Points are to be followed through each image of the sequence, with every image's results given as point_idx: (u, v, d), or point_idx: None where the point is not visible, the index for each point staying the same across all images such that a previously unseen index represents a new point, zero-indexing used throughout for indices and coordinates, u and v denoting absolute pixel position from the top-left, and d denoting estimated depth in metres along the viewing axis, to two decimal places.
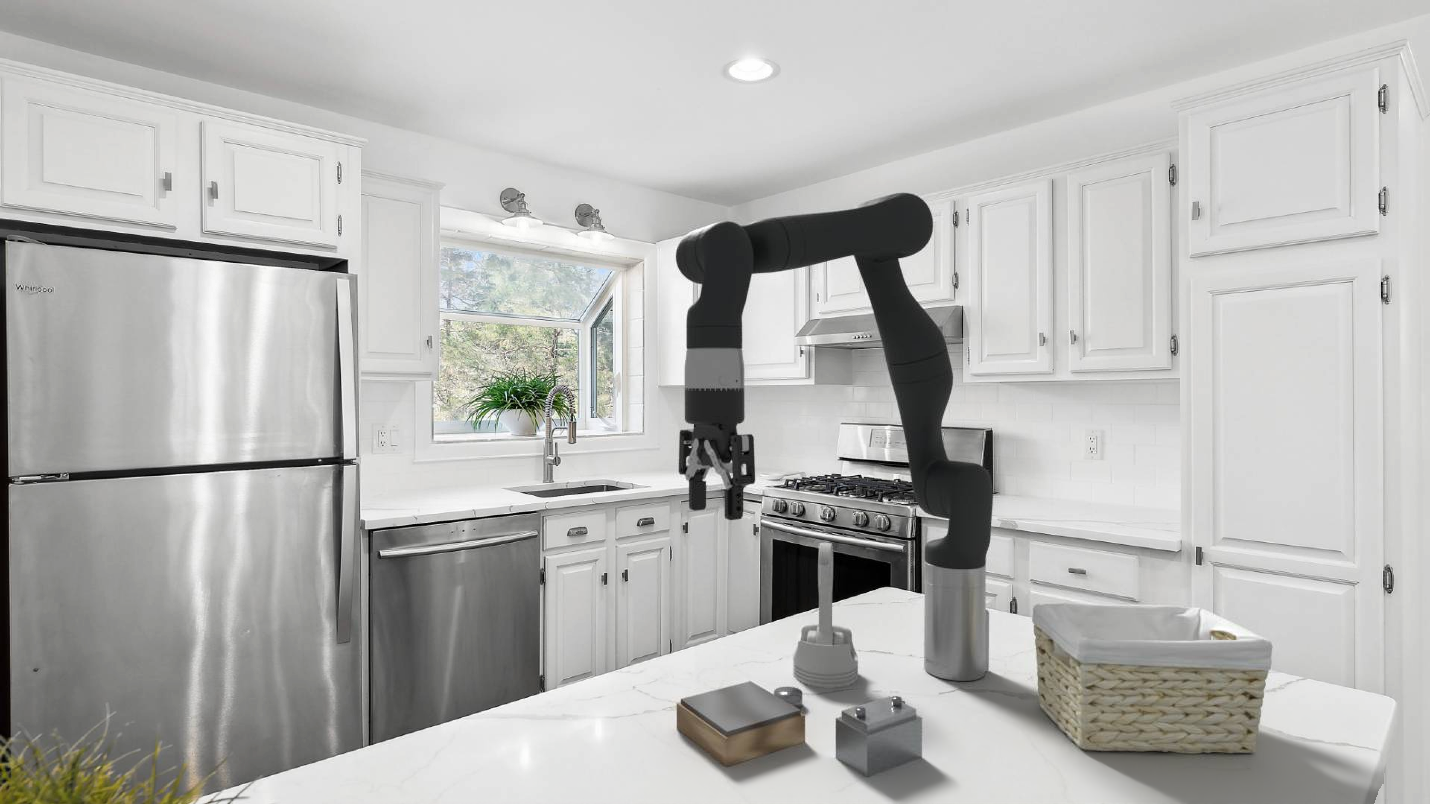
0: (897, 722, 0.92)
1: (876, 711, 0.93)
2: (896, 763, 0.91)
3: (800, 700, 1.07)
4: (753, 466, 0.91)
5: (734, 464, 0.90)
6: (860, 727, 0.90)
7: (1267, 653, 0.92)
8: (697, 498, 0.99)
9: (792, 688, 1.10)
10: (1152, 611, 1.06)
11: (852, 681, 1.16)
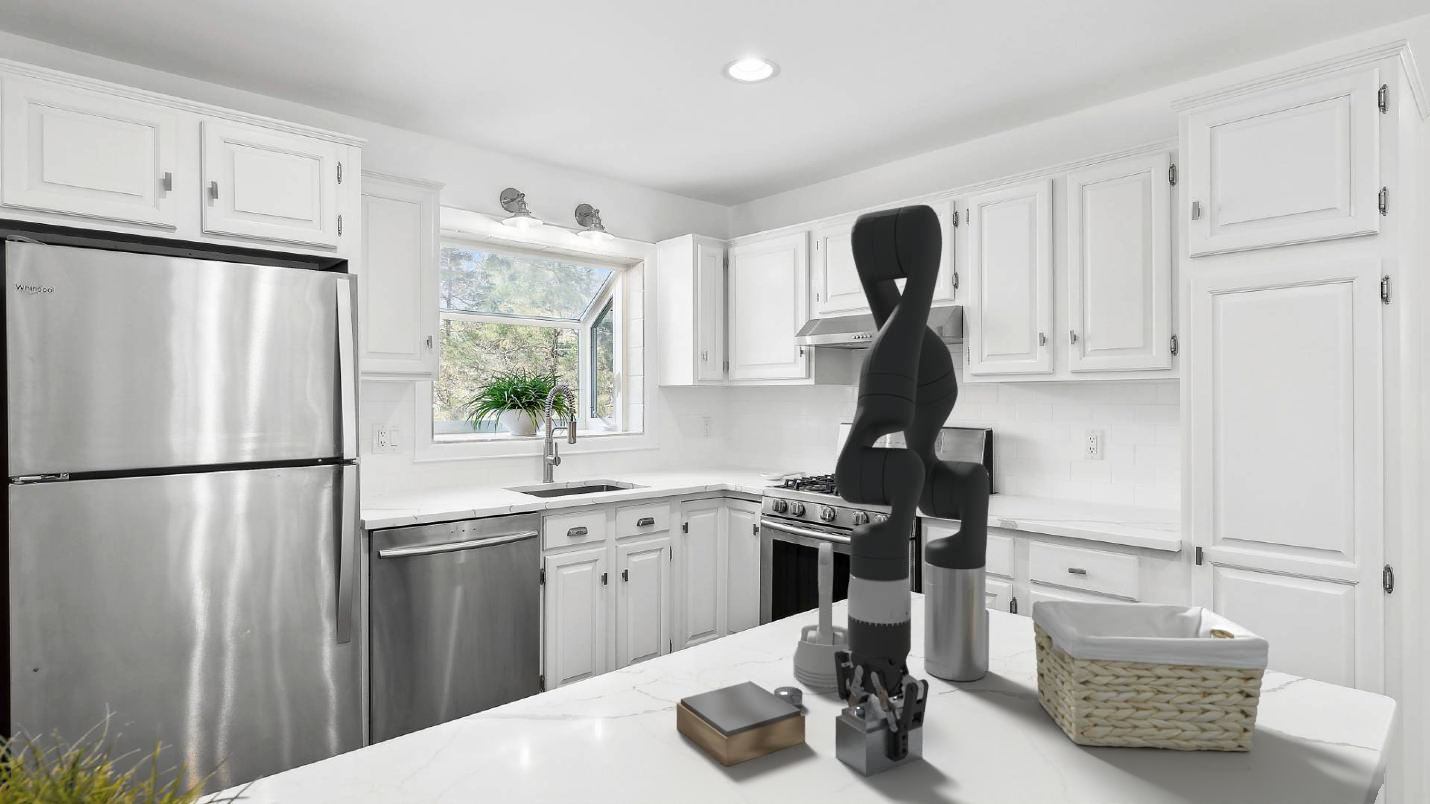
0: None
1: (876, 710, 0.93)
2: (896, 762, 0.91)
3: (800, 700, 1.07)
4: (923, 713, 0.88)
5: (905, 711, 0.88)
6: (859, 725, 0.90)
7: (1263, 652, 0.93)
8: None
9: (792, 688, 1.10)
10: (1153, 610, 1.07)
11: None
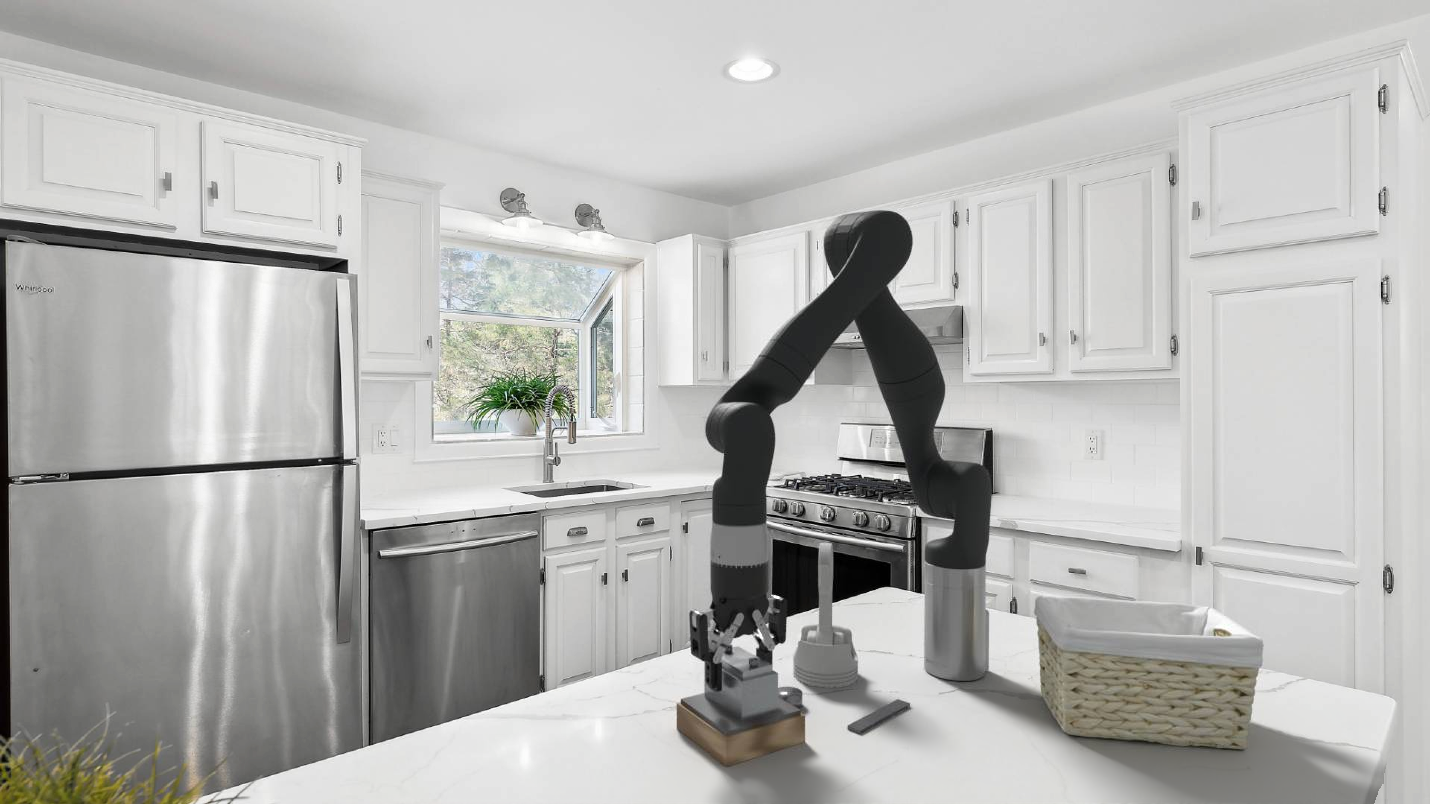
0: (728, 670, 0.97)
1: (736, 657, 0.99)
2: (723, 705, 0.97)
3: (800, 700, 1.07)
4: (699, 645, 0.94)
5: None
6: None
7: (1257, 651, 0.93)
8: None
9: (792, 688, 1.10)
10: (1158, 608, 1.08)
11: (852, 681, 1.16)
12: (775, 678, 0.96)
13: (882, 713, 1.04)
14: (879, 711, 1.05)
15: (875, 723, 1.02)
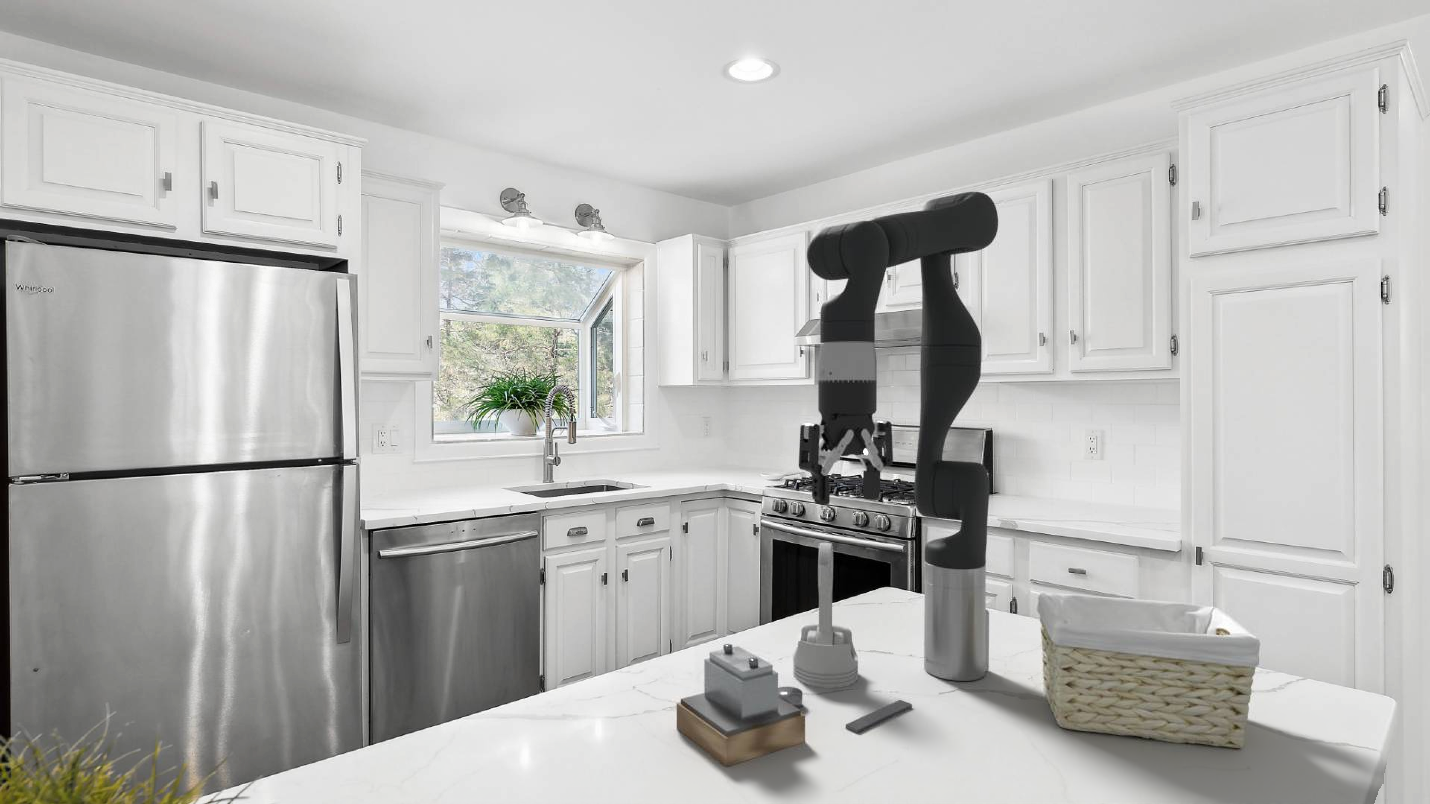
0: (728, 670, 0.97)
1: (736, 657, 0.99)
2: (723, 705, 0.97)
3: (800, 700, 1.07)
4: (810, 454, 0.96)
5: None
6: None
7: (1252, 650, 0.93)
8: (867, 487, 1.03)
9: (792, 688, 1.10)
10: (1162, 607, 1.08)
11: (852, 681, 1.16)
12: (775, 678, 0.96)
13: (882, 713, 1.04)
14: (880, 711, 1.05)
15: (874, 723, 1.02)
